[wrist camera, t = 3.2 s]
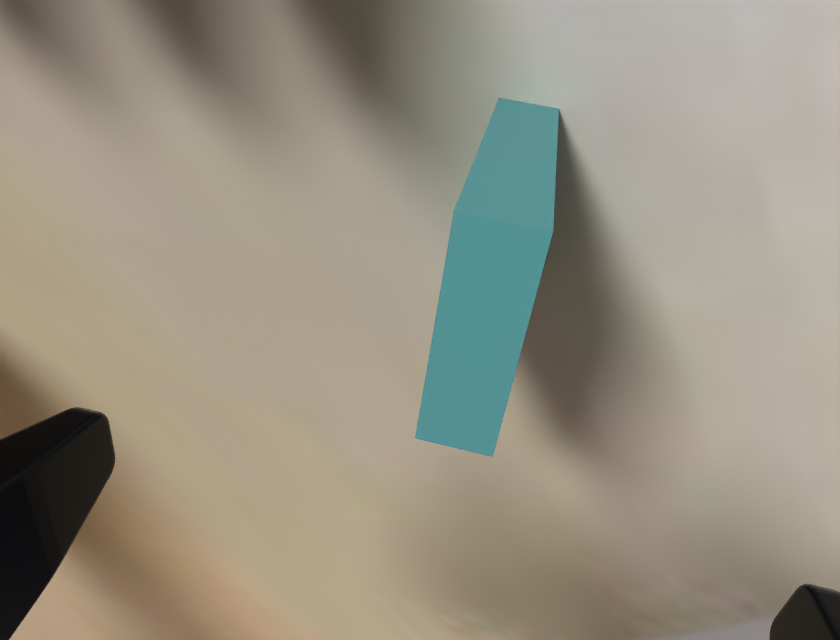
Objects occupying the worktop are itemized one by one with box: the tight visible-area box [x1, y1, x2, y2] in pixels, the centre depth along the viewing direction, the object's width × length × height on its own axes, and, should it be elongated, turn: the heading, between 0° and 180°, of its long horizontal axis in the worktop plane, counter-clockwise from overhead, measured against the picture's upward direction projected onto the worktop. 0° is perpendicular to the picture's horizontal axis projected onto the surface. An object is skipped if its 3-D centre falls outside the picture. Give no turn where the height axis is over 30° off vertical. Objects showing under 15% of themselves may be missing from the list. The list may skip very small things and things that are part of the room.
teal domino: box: [415, 98, 559, 457], centre depth 15 cm, size 5×2×8 cm, turn 172°
